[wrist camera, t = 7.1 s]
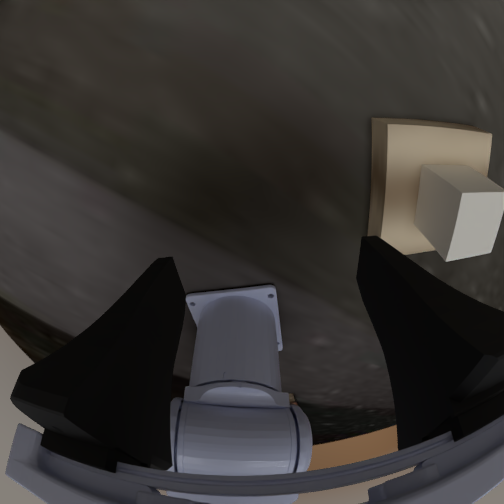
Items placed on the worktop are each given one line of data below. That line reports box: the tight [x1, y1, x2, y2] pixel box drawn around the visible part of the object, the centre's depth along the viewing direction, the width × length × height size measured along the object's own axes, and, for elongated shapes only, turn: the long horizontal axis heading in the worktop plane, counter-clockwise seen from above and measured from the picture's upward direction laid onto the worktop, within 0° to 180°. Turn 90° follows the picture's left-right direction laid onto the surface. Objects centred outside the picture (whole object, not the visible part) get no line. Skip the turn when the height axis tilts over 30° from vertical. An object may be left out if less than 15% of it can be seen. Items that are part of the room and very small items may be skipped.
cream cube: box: [414, 164, 504, 262], centre depth 15 cm, size 5×5×5 cm
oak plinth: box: [367, 118, 492, 255], centre depth 18 cm, size 10×10×3 cm
